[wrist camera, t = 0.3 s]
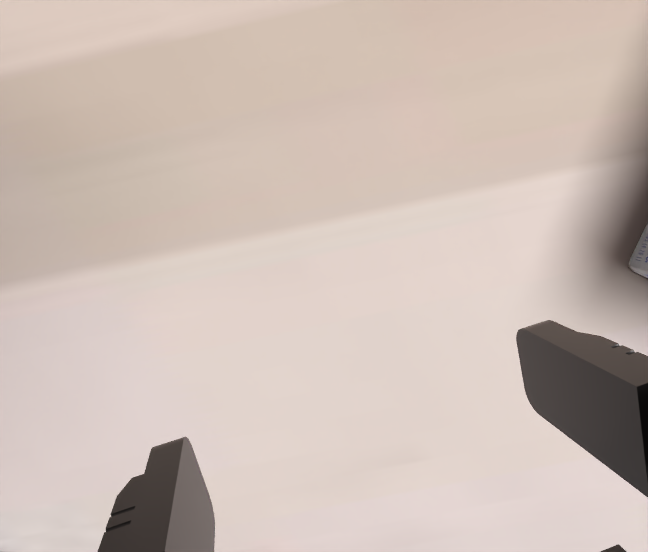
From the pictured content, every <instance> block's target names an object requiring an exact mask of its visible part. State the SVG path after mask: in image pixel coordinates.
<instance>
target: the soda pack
mask: <svg viewBox="0 0 648 552" xmlns="http://www.w3.org/2000/svg"><path fill="white" fill-rule="evenodd" d="M628 267H629V269H631V270H632V271H634V272H636V273H638V274H640V275H642V276H644V277H646V278H648V222H647V225H646V227H645V229H644V231H643V233H642V235H641V237H640V239H639V241H638V243H637V245H636V248H635V250H634V252H633V254H632V256H631V259H630V261H629V264H628Z"/></svg>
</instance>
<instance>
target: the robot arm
mask: <svg viewBox="0 0 648 552" xmlns="http://www.w3.org/2000/svg"><path fill="white" fill-rule="evenodd" d="M516 340H517V347H518V352H519V358H520V364H521V370H522V376H523V382H524V388H525V392H526V395H527V397H528V400H529V402H530V404H531V405H532V407H533V408H534V410H535V411H536V412H537V413H538V414H539V415H540V416H542V417H543V418H544V419H546V420H547V421H548V422H550V423H551V424H552V425H554V426H555V427H556V428H557V429H559V430H560V431H561V432H563V433H564V434H565V435H567V436H568V437H569V438H571V439H572V440H573V441H575V442H576V443H577V444H578V445H580V446H581V447H582V448H584V449H585V450H586V451H588V452H589V453H590V454H592V455H593V456H594V457H596V458H597V459H598V460H599V461H601V462H602V463H603V464H605V465H606V466H607V467H609V468H610V469H611V470H613V471H614V472H615V473H616V474H618V475H619V476H620V477H622V478H623V479H624V480H626V481H627V482H628V483H630V484H631V485H632V486H634V487H635V488H636V489H637V490H639V491H640V492H641V493H643V494H644V495H645V496H647V497H648V356H646V355H644V354H641V353H639V352H636V353H635V352H634V350H632V349H630V348H627V347H625V346H623V345H622V346H619V344H618V343H616V342H613V341H611V340H609V339H606V338H604V337H601V336H597V335H592V334H586V333H580V332H576V331H574V330H572V329H569V328H567V327H565V326H563V325H560V324H558V323H556V322H554V321H551V320H547V321H544V322H541V323H538V324H535V325H532V326H528V327H525V328H522V329H520V330H518V332H517V336H516ZM214 537H215V520H214V512H213V507H212V503H211V499H210V496H209V493H208V490H207V488H206V485H205V482H204V479H203V476H202V473H201V471H200V468H199V465H198V462H197V459H196V457H195V454H194V451H193V448H192V445H191V443H190V441H189V439H188V438H187V437H183V438H180V439H177V440H174V441H171V442H168V443H165V444H162V445H159V446H156V447H153V448H152V449H151V452H150V455H149V459H148V462H147V466H146V470H145V473H144V474H143V475H140V476H137V477H133V478H132V479H131V480H130V481H129V482H128V484H127V485H126V486H125V487H124V488H123V490H122V491H121V492H120V493H119V494H118V496H117V498H116V501H115V504H114V506H113V509H112V512H111V517H110V518H109V521H108V524H107V526H106V532H105V533H104V535H103V538H102V541H101V544H100V547H99V549H98V552H214ZM601 552H626V551H625V550H624V549H623V548H622V547H621V546H620V545H619V544H618V545H616V546H613V547H611V548H608V549H606V550H603V551H601Z"/></svg>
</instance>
